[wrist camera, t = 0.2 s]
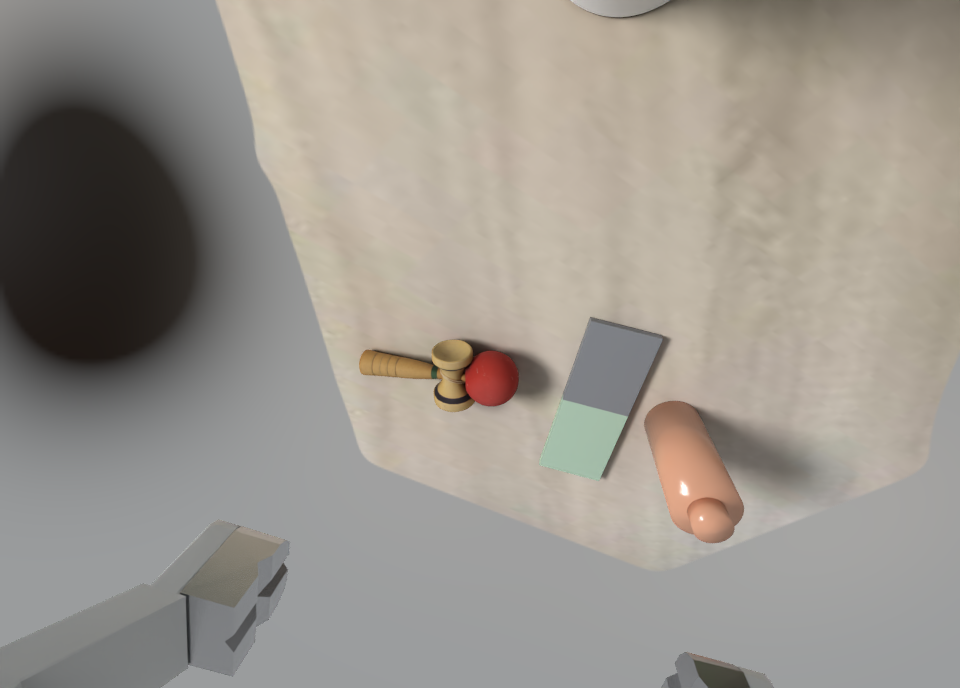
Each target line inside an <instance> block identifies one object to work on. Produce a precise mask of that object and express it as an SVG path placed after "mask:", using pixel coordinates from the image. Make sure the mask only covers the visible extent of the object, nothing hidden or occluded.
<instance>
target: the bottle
mask: <svg viewBox="0 0 960 688" xmlns="http://www.w3.org/2000/svg"><path fill="white" fill-rule="evenodd" d="M644 427H645V431H646V434H647V437H648V441H649V444H650V448H651V451H652V454H653V458H654V461H655V465H656V468H657V471H658V475H659V478H660V482H661V485H662V488H663V492H664V495H665V498H666V502H667V505H668V509H669V512H670V515H671V519H672V521H673V522H674V523H675V525H676V526H677V527H679V528H680V529H681V530H683V531H685V532H687V533H690V534H694V535H695V536H696V537H697V538H698V539H699V540H701V541H703V542H707V543H719V542H722V541H725V540H727V539H728V538H730V537H731V536H732V535H733V533H734V526H735V525H736V524H738V522H739V521H740V520H741V518H742V516H743V513H744V506H743V502H742V500H741V498H740V496H739V494H738V492H737V490H736V488H735V486H734V484H733V482H732V480H731V478H730V476H729V474H728V472H727V470H726V468H725V466H724V464H723V462H722V460H721V458H720V456H719V454H718V452H717V450H716V448H715V446H714V444H713V442H712V440H711V438H710V436H709V434H708V432H707V430H706V428H705V426H704V424H703V422H702V420H701V418H700V416H699V414H698V412H697V410H696V409H695V408H694V407H692V406H691V405H689V404H687V403H684V402H680V401H668V402H664V403H661V404H659V405H657V406H655V407H654V408H653V409H651V410H650V411H649V413H648V414H647V416H646V418H645V422H644Z"/></svg>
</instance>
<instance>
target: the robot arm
mask: <svg viewBox="0 0 960 688" xmlns="http://www.w3.org/2000/svg"><path fill="white" fill-rule="evenodd" d="M570 1H572V2H573V3H574V4H576V5H577V6H579V7H581V8H582V9H585V10H587V11H589V12H592V13H594V14H598V15H602V16H607V17H628V16H634V15H638V14H642V13H645V12H648V11H651V10H653V9H655V8H657V7H659V6H661V5H663V4H665V3H667V2H668V1H670V0H570ZM289 544H290V543H289V541H287V540H284V539H280V538H278V537H274V536H271V535H268V534H265V533H261V532H258V531H255V530H252V529H249V528H246V527H242V526H239V525H235V524H232V523H229V522H225V521H222V520H217V521H215V522H214V523H212V524H210V525H209V526H208V527H207V528H206V529H205V530H204V531H203V532H202V533H201V534H200V535H199V536H198V537H197V538H196V539H195V540H194V541H193V542H192V543H191V544H190V545H189V546H188V547H187V548H186V549H185V550H184V551H183V552H182V553H181V554H180V555H179V557H178V558H177V559H176V560H175V561H174V562H173V563H172V564H171V565H170V566H169V567H168V568H167V569H166V570H165V571H164V572H163V573H162V574H161V575H160V576H159V577H158V578H157V579H156V580H155V581H154V582H153V583H152V584H151V585H147V584H141V585H139V586H136V587H134V588H132V589H129V590H127V591H125V592H123V593H121V594H118V595H116V596H114V597H112V598H109V599H107V600H105V601H103V602H101V603H98V604H96V605H94V606H92V607H89V608H87V609H85V610H83V611H81V612H78V613H76V614H74V615H72V616H69V617H68V618H65V619H63V620H61V621H58V622H56V623H54V624H52V625H50V626H47V627H45V628H43V629H41V630H38V631H36V632H34V633H32V634H30V635H27V636H25V637H23V638H21V639H18V640H16V641H14V642H12V643H10V644H8V645H5V646H3V647H1V648H0V688H160V687H162V686H164V685H165V684H166V683H168V682H169V681H170V680H172V679H173V678H175V677H176V676H178V675H179V674H180V673H182V672H183V671H185V670H186V669H187V668H188V665H191V666H195V667H199V668H203V669H206V670H210V671H214V672H218V673H222V674H225V675H229V676H233V675H234V674H235V672H236V671H237V669H238V667H239V666H240V664H241V663H242V661H243V660H244V658H245V656H246V655H247V653H248V651H249V650H250V649H251V647H252V645H253V644H254V642H255V633H256V627H257V626H259V625H260V624H262V623H264V622H265V621H267V620H269V618H270V616H271V615H272V613H273V611H274V610H275V608H276V606H277V605H278V602H279V600H280V598H281V596H282V593H283V591H284V588H285V584H286V580H287V572H288V569H287V568H286V566H285V565H284V563H283V562H284V561H285V559H286V558H287V556H288V555H289ZM675 666H676V669H677V673H676V674H674V675H672V676H669V677H667V678H666V680H665V681H664V684H663V685H662V687H661V688H774V687H773V685H772V683H771V681H770V680H769V679H768V678H767V676H766V675H765V674H763V673H759V672H756V671H752V670H748V669H745V668H741V667H737V666H735V665H733V664H729V663H725V662H721V661H717V660H714V659H710V658H706V657H703V656H699V655H695V654H691V653H687V652H685V653H683V654H680V655H679V657H678V659H677V661H676V662H675Z"/></svg>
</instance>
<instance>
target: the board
mask: <svg viewBox="0 0 960 688" xmlns="http://www.w3.org/2000/svg"><path fill="white" fill-rule="evenodd" d="M662 340H663V338H662V336H661V335H659V334H655V333H651V332H647V331H643V330H639V329H635V328H631V327H627V326H623V325H619V324H615V323H611V322H607V321H603V320H599V319H595V318H591V317H590V320H589V322H588V325H587V328H586V331H585V334H584V336H583V339H582V342H581V345H580V348H579V351H578V353H577V356H576V359H575V362H574V365H573V367H572V370H571V373H570V376H569V379H568V381H567V384H566V387H565V390H564V393H563V395H562V398H561V401H560V404H559V407H558V409H557V412H556V415H555V418H554V421H553V423H552V426H551V429H550V432H549V435H548V438H547V440H546V443H545V446H544V449H543V452H542V454H541V457H540V462H539V465H541V466H545V467H548V468H552V469H556V470H560V471H563V472H567V473H571V474H574V475H578V476H582V477H586V478H589V479H593V480H597V481H599V480H600V478H601V475H602V473H603V471H604V469H605V466H606V464H607V462H608V460H609V458H610V455H611V453H612V451H613V449H614V447H615V444H616V442H617V440H618V438H619V435H620V433H621V431H622V429H623V427H624V424H625V422H626V420H627V418H628V416H629V413H630V411H631V409H632V407H633V404H634V402H635V400H636V398H637V396H638V393H639V391H640V389H641V387H642V385H643V382H644V380H645V378H646V376H647V373H648V371H649V369H650V367H651V365H652V362H653V360H654V358H655V356H656V354H657V351H658V349H659V347H660V345H661V343H662Z"/></svg>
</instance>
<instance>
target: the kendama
mask: <svg viewBox="0 0 960 688" xmlns="http://www.w3.org/2000/svg"><path fill="white" fill-rule="evenodd" d="M432 361H433V363H434V364H435V365H433V364H429V363H426V362H422V361H418V360H414V359H410V358H405V357H399V356H394V355H390V354H385V353H380V352H376V351H372V350H365V351H364V352H363V354H362V356H361V358H360V362H359V368H360V372H361V373H362V374H363V375H377V376H388V377H400V378H413V379H442V380H441V382H440V383H438V384H437V385H436V387H435V388H434V400H435V403H436V405H437V406H438V407H439V408H440V409H442V410H445V411H448V412H459V411H463V410H465V409H467V408H469V407H470V406H472V405H473V403H474V402H475V401H476V402H478V403H479V404H482V405H485V406H498V405H501V404H503V403H505V402H507V401H508V400H510V399H511V398H512V397H513V395H514V394H515V392H516V390H517V387H518V382H519V373H518V370H517V367H516V365H515V364H514V362H513V361H512V359H511V358H510V357H508V356H507V355H505V354H503V353H501V352H498V351H485V352H482V353H479V354H477V355H476V356H474V357H473V351H472V347H471V346H470V345H469V344H468V343H466V342H464V341H461V340H446V341H442V342H440V343H438V344H437V345H435V346H434V348H433V349H432Z"/></svg>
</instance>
